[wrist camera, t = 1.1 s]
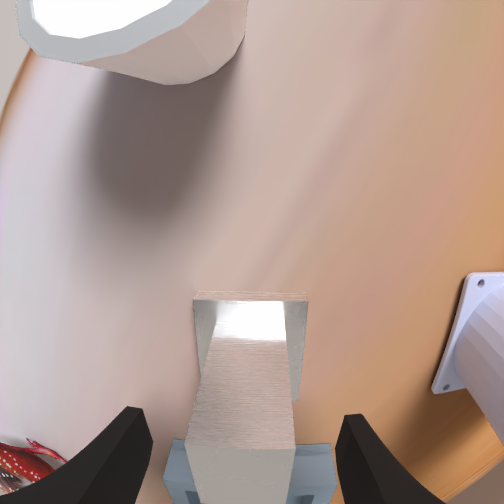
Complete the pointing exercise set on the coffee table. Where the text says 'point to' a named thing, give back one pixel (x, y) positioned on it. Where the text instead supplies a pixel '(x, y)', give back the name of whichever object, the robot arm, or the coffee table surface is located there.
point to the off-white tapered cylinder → (137, 35)
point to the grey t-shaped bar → (246, 394)
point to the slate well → (300, 487)
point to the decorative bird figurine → (23, 466)
